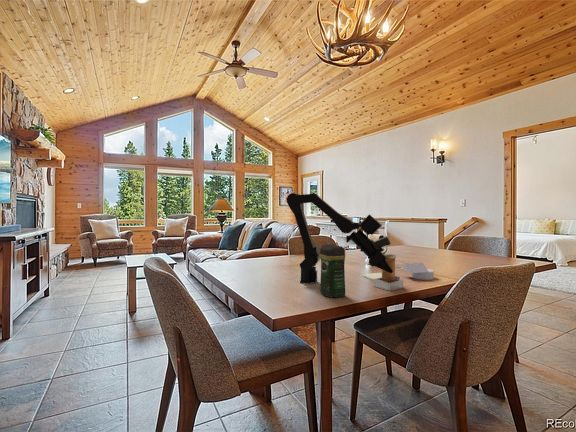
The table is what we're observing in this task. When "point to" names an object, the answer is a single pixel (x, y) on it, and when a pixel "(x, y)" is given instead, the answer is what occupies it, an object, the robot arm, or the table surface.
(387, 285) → the white open box
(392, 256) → the brown cylinder
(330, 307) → the table surface
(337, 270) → the coffee jar
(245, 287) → the table surface
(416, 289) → the table surface
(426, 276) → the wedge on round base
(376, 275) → the mat
